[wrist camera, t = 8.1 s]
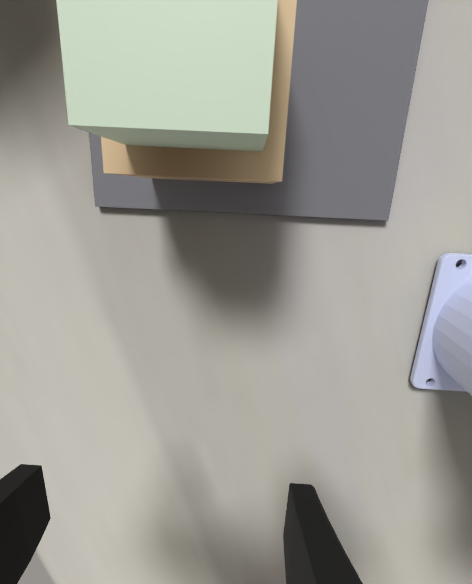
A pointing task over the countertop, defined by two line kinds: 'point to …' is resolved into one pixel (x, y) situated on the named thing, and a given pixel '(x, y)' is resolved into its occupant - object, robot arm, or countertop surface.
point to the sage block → (170, 70)
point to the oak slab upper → (216, 160)
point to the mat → (316, 122)
